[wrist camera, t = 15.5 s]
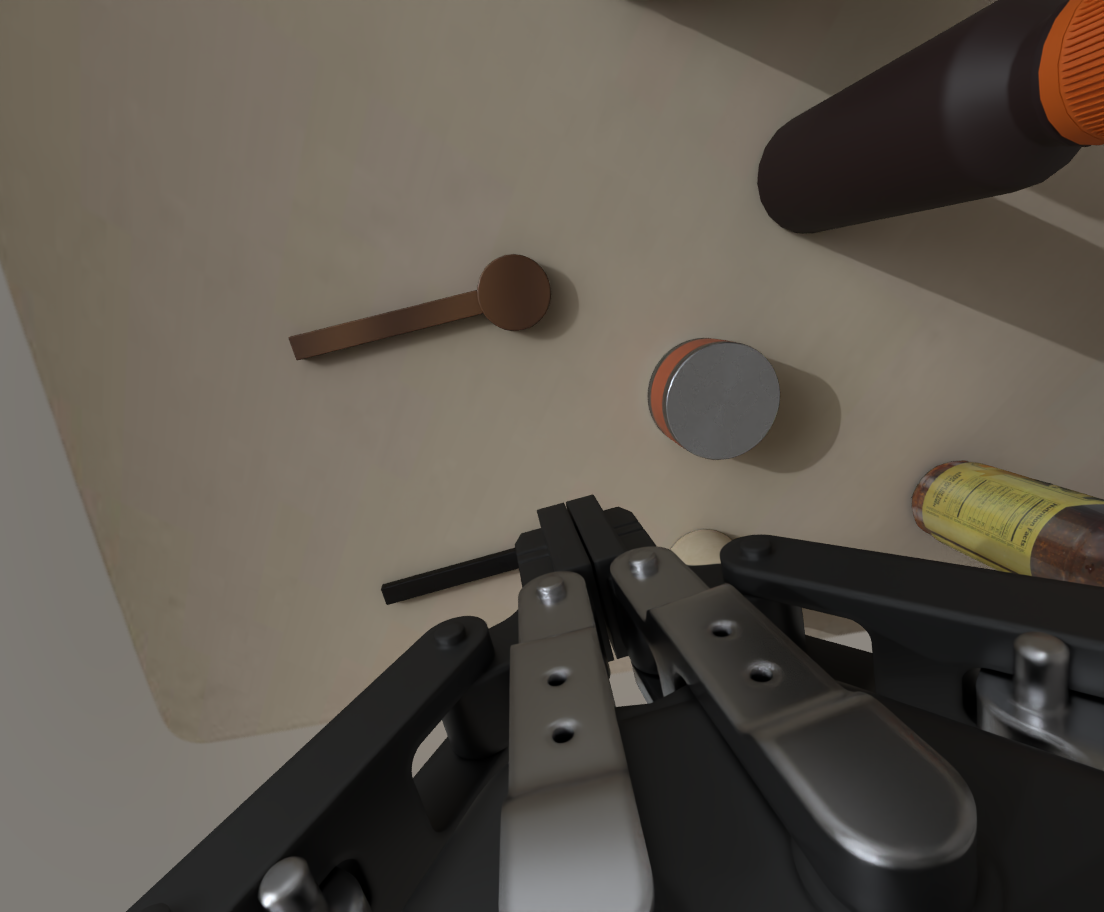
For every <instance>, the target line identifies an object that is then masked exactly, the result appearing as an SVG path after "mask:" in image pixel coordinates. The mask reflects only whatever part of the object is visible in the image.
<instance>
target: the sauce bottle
mask: <svg viewBox="0 0 1104 912" xmlns="http://www.w3.org/2000/svg"><path fill="white" fill-rule="evenodd" d="M912 510H913V515H914V518H915V521H916V524H917V525H918V526H919V527H920V528H921V529H922V530H923V531H925V532H927V533H929V534H931V535H933V537H934V538H936V539H937V540H938V541H940V542H942V543H944V544H946V545H947V546H949V547H951V548H953V549H955V550H957V551H959V552H961V553H963V554H965V555H967V556H969V557H971V558H973V559H975V560H977V561H979V562H982V563H984V564H986V565H988V566H990V567H992V568H994V569H996V570H998V571H1003V572H1010V573H1016V574H1023V575H1029V576H1035V577H1042V578H1048V579H1055V580H1061V581H1067V582H1074V583H1080V584H1087V585H1093V586H1100V587H1104V500H1103V499H1100V498H1096V497H1093V496H1089V495H1087V494H1082V493H1079V492H1076V491H1073V490H1070V489H1066V488H1062V487H1059V486H1056V485H1053V484H1050V483H1046V482H1042V481H1039V480H1035V479H1032V478H1028V477H1025V476H1022V475H1019V474H1015V473H1012V472H1009V471H1005V470H1002V469H998V468H995V467H992V466H988V465H984V464H981V463H972V462H968V461H953V462H952V461H951V462H948V463H945V464H942V465H939V466H936V467H935V468H933V469H932V470H930V471H929V472H928V473H927V474H926V475H925V476H924V477H923V478H922V479H921V481H920V482H919V484H918V485H917V486H916V489H915V491H914V493H913V495H912Z"/></svg>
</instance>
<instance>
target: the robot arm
mask: <svg viewBox="0 0 1104 912" xmlns="http://www.w3.org/2000/svg"><path fill="white" fill-rule="evenodd" d="M566 506H567V508H566ZM566 506H565V504H564V503H560V504H557V505H553V506H549V507H546V508H542V509H538V510H537V514H538V518H539V521H540V525H541V528H539V529H536V530H532V531H529V532H525V533H521V535H520V537H519V538H518V540H517V542H516V543H515V548H516V554H517V559H518V564H519V571H520V576H521V582H522V589H521V591H520V592H519V595H518V610H517V611H516V612H515V613H514V614H513V615H512V616H510V617H509V618H508V619H506V620H504V621H503V622H501V623H499V624H497V625H495V626H493V627H491V628H489V629H488V627H487V624H486V622H485V621H484V620H482V619H481V618H478V617H474V616H462V617H456V618H452V619H449V620H446V621H444V622H442V623H440V624H438V625H436V626H434V627H433V628H431V629H430V630H429V631H427V632H426V633H425V634H424V635H423V636H422V637H421V638H420V639H418V640H417V641H416V642H415V643H414V644H413V645H412V646H411V647H410V648H409V649H408V650H407V651H406V652H405V653H403V654H402V655H401V656H400V657H399V658H398V659H397V660H396V661H395V662H394V663H393V664H392V665H391V666H389V667H388V668H387V669H386V670H385V671H384V672H383V673H382V674H381V675H380V676H379V677H378V678H377V679H376V680H374V681H373V682H372V683H371V684H370V685H369V686H368V687H367V688H366V689H365V690H364V691H363V692H362V693H360V694H359V695H358V696H357V697H356V698H355V699H354V700H353V701H352V702H351V703H350V704H349V705H348V706H346V707H345V708H344V709H343V710H342V711H341V712H340V713H339V714H338V715H337V716H336V717H335V718H334V719H333V720H331V721H330V722H329V723H328V724H327V725H326V726H325V727H324V728H323V729H322V730H321V731H320V732H319V733H318V734H316V735H315V736H314V737H313V738H312V739H311V740H310V741H309V742H308V743H307V744H306V745H305V746H304V747H303V748H301V749H300V751H298V752H297V753H296V754H295V755H294V756H293V757H292V758H291V759H290V760H289V761H287V762H286V763H285V764H284V765H283V766H282V767H281V768H280V769H279V770H278V771H277V772H276V773H275V774H273V775H272V776H271V777H270V778H269V779H268V780H267V781H266V782H265V783H264V784H263V785H262V786H261V787H259V788H258V789H257V790H256V791H255V792H254V793H253V794H252V795H251V796H250V797H249V798H248V799H247V800H245V801H244V802H243V803H242V804H241V805H240V806H239V807H238V808H237V809H236V810H235V811H234V812H233V813H232V814H230V815H229V816H228V817H227V818H226V819H225V820H224V821H223V822H222V823H221V824H220V825H219V826H218V827H217V828H215V829H214V830H213V831H212V832H211V833H210V834H209V835H208V836H207V837H206V838H205V839H204V840H202V841H201V842H200V843H199V844H198V845H197V846H196V847H195V848H194V849H193V850H192V851H191V852H190V853H189V854H187V855H186V856H185V857H184V858H183V859H182V860H181V861H180V862H179V863H178V864H177V865H176V866H175V867H174V868H172V869H171V870H170V871H169V872H168V873H167V874H166V875H165V876H164V877H163V878H162V879H161V880H159V881H158V882H157V883H156V884H155V885H154V886H153V887H152V888H151V889H150V890H149V891H148V892H147V893H146V894H145V895H143V896H142V897H141V898H140V899H139V900H138V901H137V902H136V903H135V904H134V905H133V906H132V907H131V908H129V909H128V910H127V911H126V912H1104V587H1100V586H1093V585H1087V584H1080V583H1074V582H1067V581H1061V580H1055V579H1048V578H1042V577H1035V576H1029V575H1023V574H1016V573H1010V572H1003V571H997V570H990V569H984V568H978V567H971V566H965V565H958V564H952V563H946V562H939V561H933V560H926V559H920V558H913V557H907V556H901V555H894V554H888V553H881V552H875V551H869V550H862V549H856V548H849V547H843V546H836V545H830V544H824V543H817V542H811V541H804V540H798V539H792V538H785V537H779V536H772V535H749V536H744V537H740V538H737V539H734V540H732V541H730V542H728V543H727V544H726V545H724V546H723V547H722V549H721V551H720V561H721V563H718V564H707V565H686V564H685V563H684V562H683V561H682V560H681V559H680V558H679V557H678V556H677V555H676V554H675V553H674V552H673V551H671V550H669V549H666V548H663V547H657V546H656V545H655V543H654V542H653V541H652V539H651V538H650V536H649V535H648V534H647V532H646V531H645V530H644V529H643V527H642V525H641V524H640V523H639V522H638V520H637V519H636V517H635V516H634V515H633V513H632V512H630V511H628V510H625V509H623V508H620V507H615V508H611V509H608V510H604V511H603V510H602V508H601V506H600V505H599V503H598V501H597V500H596V498H595V496H594V495H589V496H586V497H582V498H578V499H575V500H571V501H567V502H566ZM802 608H806V609H810V610H815V611H819V612H823V613H827V614H831V615H835V616H840V617H844V618H848V619H851V620H853V621H855V622H857V623H858V624H860V625H861V626H862V627H863V628H864V629H865V630H866V631H867V632H868V634H869V636H870V638H871V641H872V652H873V653H870V652H866V651H863V650H859V649H856V648H852V647H848V646H844V645H841V644H837V643H833V642H829V641H826V640H822V639H819V638H815V637H811V636H808V635H805V630H804V622H803V614H802ZM609 640H610V641H609ZM610 642H611V645H612V647H613V650H614V652H615V655H616V657H617V659H619V658H622V657H626V656H629V657H630V659H631V663H632V667H633V672H634V676H635V680H636V683H637V685H638V687H639V689H640V691H641V693H642V694H643V696H644V698H645V700H646V702H647V703H648V704H641V705H632V706H622V707H616V706H615V701H614V698H613V693H612V689H611V685H610V681H609V678H610V668H609V664H608V662H609V661H613V660H614V657H613V653H612V649H611V645H610ZM441 720H442V721H443V724H444V727H445V730H446V732H447V735H448V737H447V738H446V739H445V741H444V742H443V743H442V744H441V745H440V746H439V748H438V749H437V750H436V751H435V752H434V754H433V755H432V756H431V757H430V758H429V760H428V761H427V762H426V763H425V764H424V766H423V767H422V768H421V769H420V771H419V772H418V773H417V774H416V775H415V776H414V778H413V777H412V772H411V771H412V762H413V758H414V755H415V753H416V751H417V749H418V747H419V746H420V744H421V743H422V742H423V741H424V740H425V738H426V737H427V736H428V735H429V734H430V733H431V731H432V730H433V729H434V728H435V727H436V726H437V725H438V723H439V722H440V721H441Z"/></svg>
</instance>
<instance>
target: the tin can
mask: <svg viewBox="0 0 1104 912" xmlns="http://www.w3.org/2000/svg"><path fill="white" fill-rule="evenodd" d="M779 402H780V388H779V382H778V378H777V376H776V373H775V371H774V369H773V367H772V365H771V364H770V362H769V361H768V360H767V359H766V358H765V357H764V356H763V355H762V354H761V353H760V352H758V351H757V350H756V349H754V348H752V347H750V346H748V345H745V344H742V343H737V342H732V341H726V340H719V339H711V338H698V339H692V340H688V341H686V342H683V343H681V344H679V345H677V346H675V347H674V348H673V349H671V350H670V351H669V352H668V353H667V354H665V355H664V356H663V358H662V359H661V360H660V361H659V363H658V364H657V366H656V367H655V369H654V371H653V373H652V376H651V379H650V382H649V387H648V405H649V410H650V413H651V416H652V418H653V420H654V422H655V424H656V425H657V427H658V428H659V429H660V430H661V431H662V432H663V433H664V434H665V435H666V436H667V437H669V438H670V439H671V440H673V441H674V442H675V443H677V444H678V445H680V446H681V447H683V448H684V449H686V450H687V451H689V452H691V453H692V454H694V455H696V456H699V457H702V458H705V459H712V460H722V459H729V458H733V457H736V456H739V455H741V454H743V453H745V452H747V451H749V450H750V449H752V448H753V447H754V446H756V445H757V444H758V443H759V442H760V441H761V440H762V439H763V438H764V437H765V436H766V434H767V433H768V431H769V430H770V428H771V427H772V425H773V423H774V421H775V418H776V416H777V412H778V409H779Z"/></svg>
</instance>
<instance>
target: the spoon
mask: <svg viewBox="0 0 1104 912" xmlns="http://www.w3.org/2000/svg"><path fill="white" fill-rule="evenodd" d="M550 297H551V289H550V283H549V280H548V278H547V275H546V274H545V272H544V270H543V269H542V268H541V267H540V266H539V265H538V264H537V263H536V262H535V261H533V260H532V259H530V258H528V257H525V256H522V255H516V254H511V255H505V256H501V257H499V258H497V259H495V260H494V261H492V262H491V263H490V264H489V265H488V266H487V267H486V268H485V269H484V271H483V272H482V274H481V276H480V279H479V282H478V287H477V290H475V291H471V292H467V293H463V294H459V295H455V296H451V297H447V298H443V299H439V300H435V301H431V302H427V303H423V304H419V305H415V306H411V307H407V308H403V309H399V310H395V311H391V312H387V313H383V314H379V315H375V316H371V317H367V318H363V319H359V320H355V321H351V322H347V323H343V324H339V325H335V326H331V327H327V328H323V329H319V330H315V331H311V332H307V333H303V334H299V335H295V336H291V337H289V341H290V344H291V346H292V349H293V352H294V354H295V357H296V360H301V359H305V358H309V357H313V356H317V355H321V354H325V353H329V352H333V351H337V350H341V349H345V348H348V347H352V346H356V345H360V344H364V343H368V342H372V341H376V340H380V339H384V338H388V337H392V336H396V335H400V334H404V333H408V332H412V331H416V330H420V329H424V328H428V327H432V326H435V325H439V324H443V323H447V322H451V321H455V320H459V319H463V318H467V317H471V316H475V315H479V314H482V313H484V315H485V316H486V317H487V318H488V320H490V321H491V322H492V323H493V324H495V325H496V326H498V327H500V328H502V329H505V330H511V331H519V330H524V329H527V328H529V327H531V326H533V325H535V324H536V323H537V322H538V321H540V319H541V318H542V317H543V316H544V314H545V313H546V311H547V309H548V306H549V303H550Z"/></svg>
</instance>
